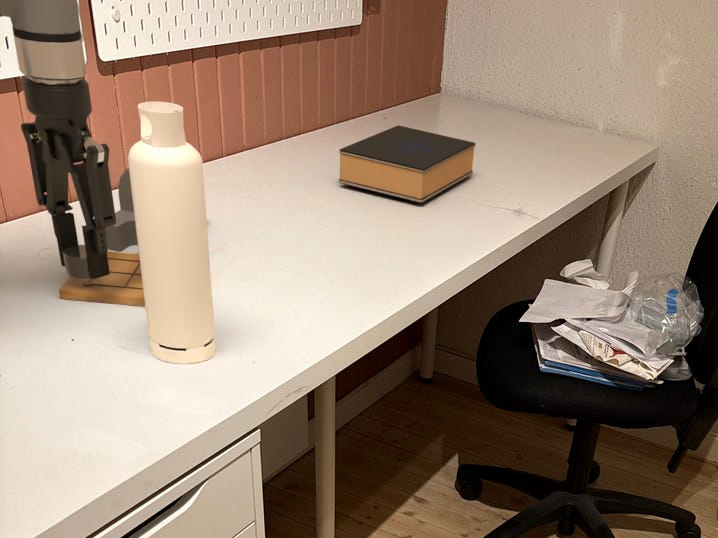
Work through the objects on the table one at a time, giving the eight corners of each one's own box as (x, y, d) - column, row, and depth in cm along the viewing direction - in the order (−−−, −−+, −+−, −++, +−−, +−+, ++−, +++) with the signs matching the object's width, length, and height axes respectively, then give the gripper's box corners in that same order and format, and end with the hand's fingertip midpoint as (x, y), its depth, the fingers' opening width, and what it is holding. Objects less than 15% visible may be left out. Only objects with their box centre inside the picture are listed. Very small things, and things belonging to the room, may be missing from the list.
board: (60, 298, 130) (58, 289, 129) (91, 257, 142) (90, 248, 141) (180, 309, 132) (179, 300, 131) (201, 268, 144) (200, 259, 143)
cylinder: (61, 276, 129) (57, 255, 127) (72, 263, 132) (68, 243, 131) (99, 280, 129) (96, 259, 127) (109, 267, 133) (106, 246, 131)
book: (338, 187, 181) (339, 149, 177) (396, 160, 199) (397, 125, 195) (421, 207, 177) (423, 169, 173) (472, 178, 195) (475, 142, 191)
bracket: (208, 223, 158) (203, 153, 151) (162, 258, 145) (154, 183, 138) (153, 213, 159) (145, 143, 152) (101, 247, 145) (90, 172, 138)
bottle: (140, 342, 123) (109, 99, 105) (199, 332, 127) (179, 96, 109) (167, 368, 118) (140, 118, 100) (227, 356, 122) (211, 115, 104)
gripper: (131, 89, 115) (153, 282, 130) (31, 58, 121) (63, 245, 136) (80, 97, 110) (109, 296, 125) (-22, 64, 116) (18, 257, 131)
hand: (85, 269), depth 131 cm, fingers closed on cylinder, 5 cm apart
